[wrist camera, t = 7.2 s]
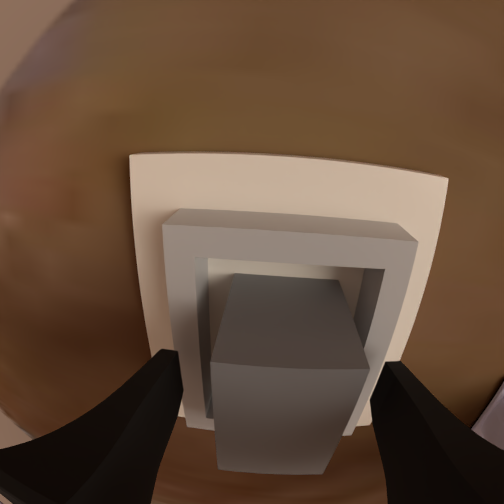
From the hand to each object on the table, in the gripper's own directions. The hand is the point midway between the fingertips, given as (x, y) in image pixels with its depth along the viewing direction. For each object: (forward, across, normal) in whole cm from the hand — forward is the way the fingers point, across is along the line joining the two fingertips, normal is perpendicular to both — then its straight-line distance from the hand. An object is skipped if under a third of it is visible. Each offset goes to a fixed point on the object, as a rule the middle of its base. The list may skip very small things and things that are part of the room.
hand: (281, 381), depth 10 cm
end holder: (+4, 0, 0) cm, 4 cm away
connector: (+3, 0, 0) cm, 3 cm away
